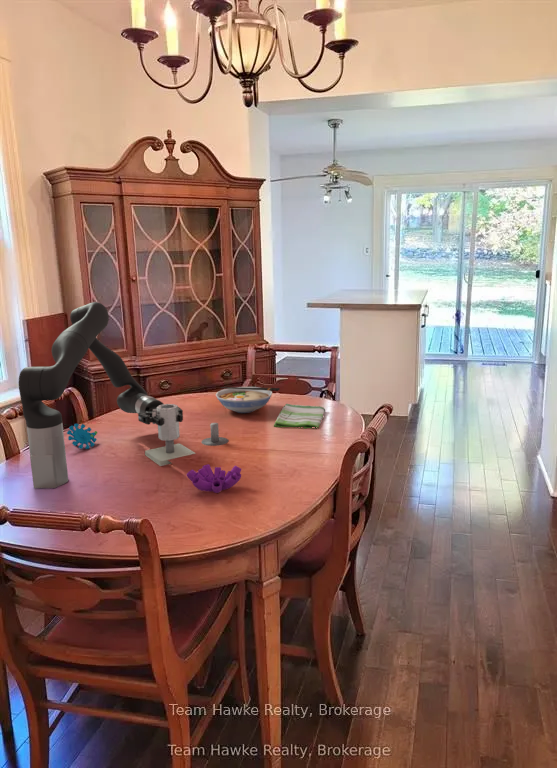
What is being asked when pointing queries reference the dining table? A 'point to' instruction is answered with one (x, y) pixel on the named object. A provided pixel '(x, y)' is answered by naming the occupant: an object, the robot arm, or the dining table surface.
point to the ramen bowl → (244, 398)
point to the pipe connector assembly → (214, 478)
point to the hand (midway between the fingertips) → (171, 420)
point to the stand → (214, 437)
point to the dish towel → (300, 416)
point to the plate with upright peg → (168, 453)
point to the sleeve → (168, 422)
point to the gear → (81, 436)
